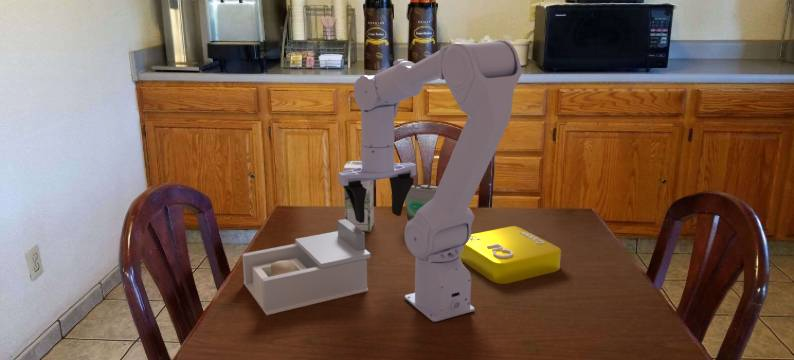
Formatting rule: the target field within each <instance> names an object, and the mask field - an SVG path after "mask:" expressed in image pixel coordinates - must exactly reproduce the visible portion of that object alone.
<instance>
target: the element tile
mask: <svg viewBox="0 0 794 360" xmlns="http://www.w3.org/2000/svg"><path fill="white" fill-rule="evenodd" d="M460 258H461V261H462V263H464V265H467V266H469V267H470V268H471V269H473V270H474V271H476V272H478V273H479V274H481V275H482V276H484V277H485V278H486V279H488V280H489V281H491V282H493V283H496V284H499V285H500V284H501V285H502V284H505V285H506V284H511V283H514V282H520V281H523V280H526V279H531V278H535V277H538V276H539V277H540V276H543V275H548V274H552V273H555V272H558V271H560V269H561V258H562V250H561V248H560V247H558V246H556V245H554V243H550V242H549V241H547V240H545V239H543V238H541V237H539V236H537V235H535V234H533V233H531V232H529V231H528V230H525V229H524V228H521V227H519V226H516V225H513V226H506V227H501V228H497V229H491V230H487V231H482V232H476V233H471V237H470V240H469V241H468V243H467V244H465V245H463V252H461V253H460Z"/></svg>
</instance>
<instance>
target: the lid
mask: <svg viewBox="0 0 794 360" xmlns="http://www.w3.org/2000/svg"><path fill="white" fill-rule="evenodd" d="M365 236H366V232H363V231H361V230H360V229H359V228H357V227H356V226H355V225H353V224H352V223H350V222H349V221H348V220H346V219H345V218H343V219H337V230H336V231H332V232H326V233H321V234H315V235H310V236H304V237H299V238H294V239H295V241H294V242H295V244H297V245H298V246H299V247H300V248H301V249H302V250H303V251H304V252H305V253H306V254H307V255H308V256H309V257H310V258H311V259H312V260H313V261H315V262H316V263H317V264H318V265H319V266H320V267H321V268H326V267H330V266H335V265H340V264H344V263H349V262H354V261H358V260H363V259H367V260H368V259H371V258H372V257H371V256H372V255H371V252H369V251H368V250H367V249H366V237H365Z"/></svg>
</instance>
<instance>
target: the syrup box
mask: <svg viewBox="0 0 794 360" xmlns="http://www.w3.org/2000/svg"><path fill="white" fill-rule="evenodd" d="M359 167H362V160H359V161H358V160H355V161H354V160H348V161H346V163H345V165H344V166H343V172H345V171H349V170H352V169H356V168H359ZM361 184H363V187H364V188H366V189H367V191H366V196H365V203H364V214H365V218H364V223H360V222H358V221H357V220H356V218H355V213H354V210H353V206H352V204H351V201H350V199H349V196H348V194H347V192H346V191H345V189H344V188H343V196H344V197H343V198H344V199H343V200H344V201H343V202H344V219H346V220H348V221H349V222H350V223H352V224H353V225H355V226H356V227H357V228H359V229H360V230H361V231H363V232H364V233H366V232H368V233H369V232H371V231H372V228H373V226H374V224H373V223H375V220H374V219H375V214H374V212H375V211H374V180H371V181H365V182H361Z"/></svg>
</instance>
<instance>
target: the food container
mask: <svg viewBox="0 0 794 360" xmlns="http://www.w3.org/2000/svg"><path fill="white" fill-rule="evenodd" d="M438 186H439V185H435V184H431V183H430V184H429V183H425V184H415V183H413V185H412V187H411V188H410V190H409V192H408V194H407V196H406V199H405V202H404V203H405V211H406V219H407V221H406V222H407V223H408V222H409V221H410V220H411V219H413V218H414V217H415V215H416V212H417V211H418V210H419V209H420V208H421V207H422V206H424V205H425V204H426V203H428V202H429V201H430V200H432V199H433V197H434V195H435V193H436V190H437V188H438Z"/></svg>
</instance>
